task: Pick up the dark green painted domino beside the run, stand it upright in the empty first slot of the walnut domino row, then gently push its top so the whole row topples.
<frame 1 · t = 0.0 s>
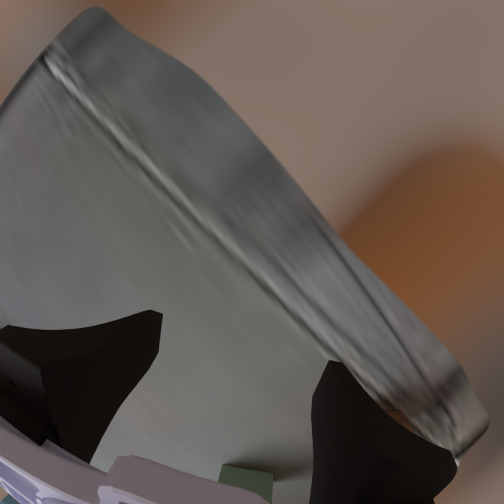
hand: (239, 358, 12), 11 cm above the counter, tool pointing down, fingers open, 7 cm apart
green domino: (246, 474, 24), on the counter
blue square slab: (47, 484, 28), on the counter
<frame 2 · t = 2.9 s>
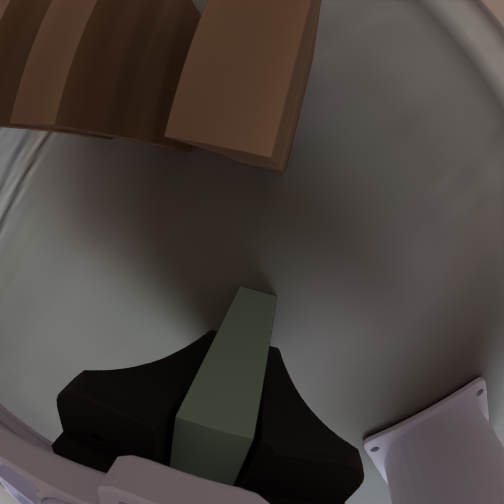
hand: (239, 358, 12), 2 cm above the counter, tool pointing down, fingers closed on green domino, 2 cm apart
walnut domino 2: (279, 109, 11), on the counter
walnut domino 3: (186, 93, 11), on the counter
green domino: (245, 340, 14), on the counter, touching gripper
walnut domino 4: (111, 88, 12), on the counter
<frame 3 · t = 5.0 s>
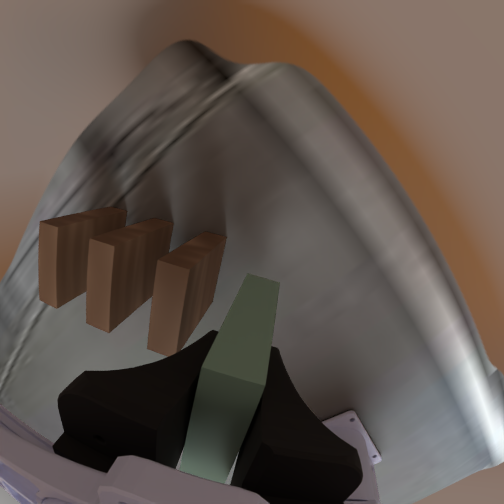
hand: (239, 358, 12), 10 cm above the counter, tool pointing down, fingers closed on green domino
walnut domino 2: (208, 267, 22), on the counter
walnut domino 3: (158, 252, 22), on the counter
green domino: (250, 322, 15), point 6 cm above the counter, touching gripper
walnut domino 4: (114, 239, 22), on the counter
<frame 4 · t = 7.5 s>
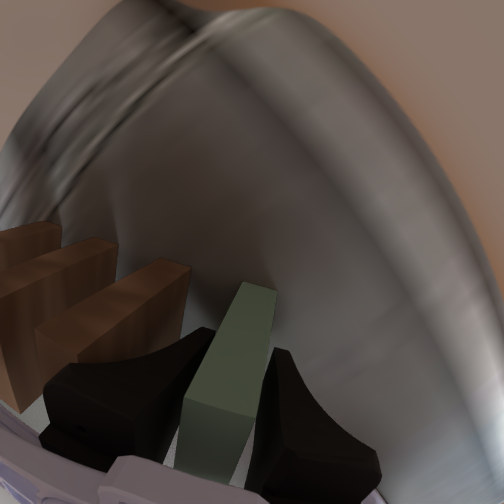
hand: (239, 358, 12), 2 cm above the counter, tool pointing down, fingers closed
walnut domino 2: (168, 310, 14), on the counter, touching gripper
walnut domino 3: (102, 285, 15), on the counter
green domino: (247, 333, 14), on the counter
walnut domino 4: (51, 264, 15), on the counter
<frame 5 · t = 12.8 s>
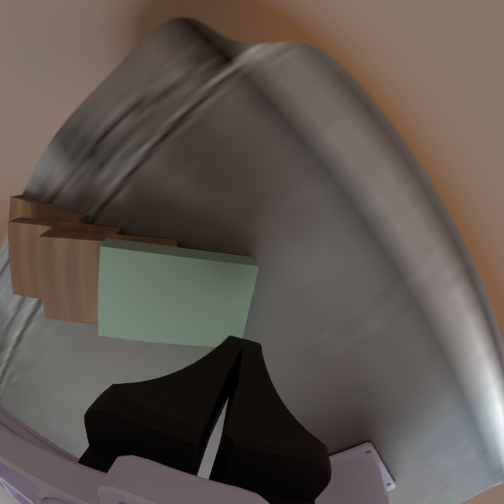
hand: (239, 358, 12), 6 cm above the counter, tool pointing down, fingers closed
walnut domino 2: (173, 284, 17), point 1 cm above the counter, tilted 66°, touching green domino, walnut domino 3
walnut domino 3: (117, 269, 18), point 1 cm above the counter, tilted 72°, touching walnut domino 2, walnut domino 4
green domino: (245, 303, 17), point 1 cm above the counter, tilted 67°, touching walnut domino 2
walnut domino 4: (83, 251, 18), on the counter, tilted 90°, touching walnut domino 3
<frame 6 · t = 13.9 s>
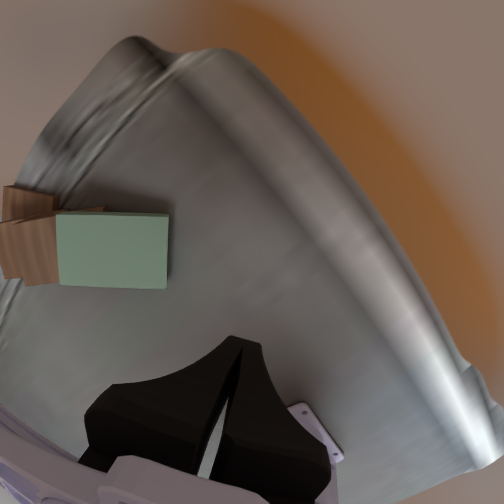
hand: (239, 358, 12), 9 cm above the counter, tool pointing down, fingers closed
walnut domino 2: (109, 239, 21), point 1 cm above the counter, tilted 67°, touching walnut domino 3
walnut domino 3: (69, 240, 21), point 1 cm above the counter, tilted 75°, touching walnut domino 2
green domino: (167, 251, 21), point 1 cm above the counter, tilted 68°
walnut domino 4: (56, 224, 22), on the counter, tilted 90°
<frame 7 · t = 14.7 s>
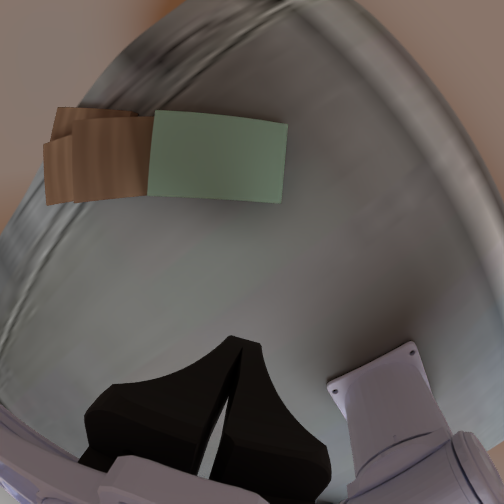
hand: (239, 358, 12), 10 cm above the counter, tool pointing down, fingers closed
walnut domino 2: (191, 155, 20), point 1 cm above the counter, tilted 51°
walnut domino 3: (129, 156, 19), point 2 cm above the counter, tilted 90°, touching walnut domino 4
green domino: (280, 164, 19), point 1 cm above the counter, tilted 67°
walnut domino 4: (128, 145, 20), on the counter, tilted 90°, touching walnut domino 3
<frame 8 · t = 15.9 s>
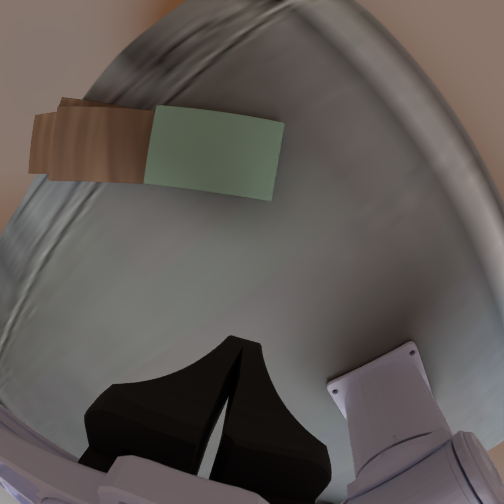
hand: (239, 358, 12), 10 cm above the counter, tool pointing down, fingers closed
walnut domino 2: (164, 148, 20), point 1 cm above the counter, tilted 59°, touching green domino
walnut domino 3: (108, 141, 19), point 1 cm above the counter, tilted 88°, touching walnut domino 4
green domino: (276, 162, 19), point 1 cm above the counter, tilted 77°, touching walnut domino 2
walnut domino 4: (127, 141, 21), on the counter, tilted 90°, touching walnut domino 3
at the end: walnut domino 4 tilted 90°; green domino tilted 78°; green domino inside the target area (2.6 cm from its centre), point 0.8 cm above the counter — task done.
